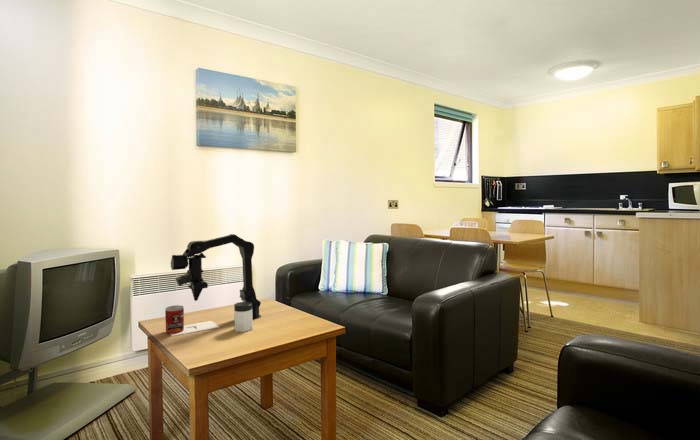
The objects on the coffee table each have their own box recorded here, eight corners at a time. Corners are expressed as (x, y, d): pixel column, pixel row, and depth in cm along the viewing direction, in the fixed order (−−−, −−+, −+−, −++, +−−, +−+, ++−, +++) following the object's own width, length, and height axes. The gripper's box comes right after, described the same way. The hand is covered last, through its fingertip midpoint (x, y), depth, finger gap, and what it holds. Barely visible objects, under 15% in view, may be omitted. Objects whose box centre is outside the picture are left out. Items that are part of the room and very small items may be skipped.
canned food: (166, 335, 171) (166, 310, 171) (164, 330, 178) (164, 306, 178) (185, 332, 175) (184, 308, 175) (182, 327, 182) (182, 304, 182)
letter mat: (211, 321, 193) (211, 320, 193) (219, 327, 183) (219, 326, 183) (166, 329, 180) (166, 328, 180) (171, 336, 170) (171, 335, 170)
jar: (253, 331, 177) (253, 305, 177) (235, 333, 175) (234, 307, 174) (251, 325, 186) (251, 300, 185) (234, 327, 183) (233, 302, 183)
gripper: (172, 267, 184) (173, 299, 185) (181, 272, 169) (182, 307, 170) (196, 264, 191) (197, 296, 191) (207, 269, 176) (208, 303, 176)
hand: (195, 300), depth 182 cm, fingers closed
